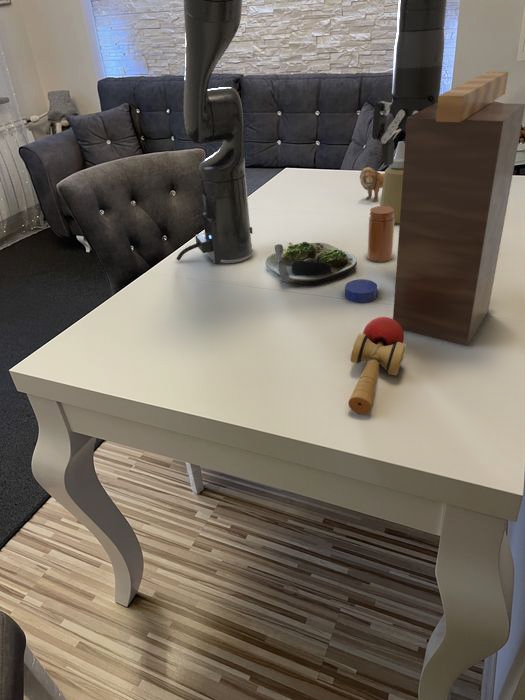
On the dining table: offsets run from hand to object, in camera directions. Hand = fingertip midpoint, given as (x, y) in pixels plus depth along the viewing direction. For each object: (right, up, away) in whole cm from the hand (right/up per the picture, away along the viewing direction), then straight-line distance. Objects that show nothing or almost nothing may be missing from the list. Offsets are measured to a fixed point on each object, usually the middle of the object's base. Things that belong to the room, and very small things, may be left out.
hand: (410, 167), depth 93 cm
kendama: (-10, -36, -17) cm, 41 cm away
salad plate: (-16, -16, +15) cm, 27 cm away
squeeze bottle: (+6, -1, +35) cm, 36 cm away
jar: (-1, -13, +18) cm, 22 cm away
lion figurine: (+6, +8, +50) cm, 51 cm away
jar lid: (-8, -21, +3) cm, 22 cm away
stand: (+4, -27, -5) cm, 28 cm away
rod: (+3, +1, -20) cm, 21 cm away
